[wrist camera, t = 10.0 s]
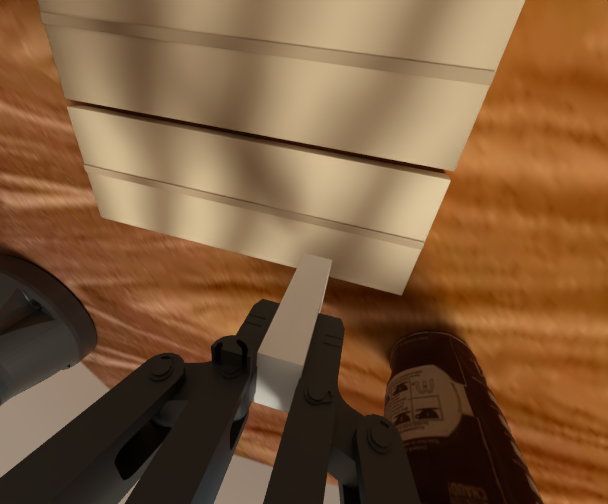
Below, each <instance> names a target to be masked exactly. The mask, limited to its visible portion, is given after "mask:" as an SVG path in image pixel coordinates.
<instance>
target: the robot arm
mask: <svg viewBox="0 0 608 504" xmlns="http://www.w3.org/2000/svg"><path fill="white" fill-rule="evenodd" d="M331 263H332V260H331V259H327V258H323V257H318V256H314V255H310V254H306V253H304V255H303V257H302V259H301V261H300V263H299V265H298V267H297V269H296V272H295V274H294V276H293V278H292V280H291V282H290V284H289V286H288V288H287V291H286V293H285V295H284V297H283V299H282V301H281V303H276V302H272V301H269V300H265V299H262V300H261V301H259V302H258V303H256V304H255V305H254V306H253V307H252V309H251V311H250V312H249V315H248V316H247V317H246V319H245V321H244V323H243V324H242V326H241V327H240V329H239V331H238V332H237V334H236V336H235V335H230V336H225V337H222V338H220V339H218V340H217V341H216V342H215V343H214V344H213V345H212V346H211V353H212V361H210V362H204V363H184V360H183V359H182V358H181V357H180V356H179V355H177V354H174V353H163V354H159V355H156V356H154V357H152V358H151V359H149V360H147V361H146V362H145V363H143V364H142V365H141V366H140V367H138V368H137V369H136V370H135V371H133V372H132V373H131V374H130V375H128V376H127V377H126V378H125V379H123V380H122V381H121V382H120V383H118V384H117V385H116V386H115V387H113V388H112V389H111V390H110V391H108V392H107V393H106V394H105V395H103V396H102V397H101V398H100V399H98V400H97V401H96V402H95V403H93V404H92V405H91V406H90V407H88V408H87V409H86V410H85V411H83V412H82V413H81V414H80V415H79V416H77V417H76V418H75V419H73V420H72V421H71V422H70V423H68V424H67V425H66V426H65V427H63V428H62V429H61V430H60V431H58V432H57V433H56V434H55V435H54V436H52V437H51V438H50V439H48V440H47V441H46V442H45V443H43V444H42V445H41V446H40V447H39V448H37V449H36V450H35V451H33V452H32V453H31V454H30V455H28V456H27V457H26V458H25V459H23V460H22V461H21V462H20V463H18V464H17V465H16V466H15V467H13V468H12V469H11V470H10V471H8V472H7V473H6V474H5V475H3V476H2V477H1V478H0V504H118V503H119V502H120V501H121V499H122V498H123V497H124V496H125V495H126V493H128V491H129V490H130V489H131V488H132V487H133V486H134V484H135V483H136V482H137V481H138V480H139V479H140V480H139V481H138V483H137V485H136V486H135V488H134V489H133V491H132V493H131V494H130V496H129V497H128V499H127V501H126V502H125V504H214V501H215V499H216V496H217V494H218V491H219V489H220V486H221V483H222V481H223V479H224V476H225V474H226V471H227V469H228V466H229V464H230V461H231V459H232V456H233V454H234V451H235V449H236V446H237V444H238V441H239V439H240V436H241V434H242V431H243V429H244V426H245V424H246V421H247V419H248V414H249V407H250V405H251V402H252V400H253V397H254V402H256V403H259V404H262V405H265V406H269V407H272V408H275V409H278V410H281V411H284V412H287V413H289V414H288V417H287V421H286V424H285V428H284V431H283V435H282V438H281V442H280V445H279V449H278V453H277V456H276V460H275V463H274V467H273V471H272V474H271V478H270V481H269V484H268V488H267V492H266V496H265V499H264V502H263V504H323V500H324V493H325V486H326V478H327V472H328V473H330V474H331V475H332V476H333V477H335V478H336V479H337V480H338V484H339V493H340V504H421V502H420V499H419V495H418V492H417V488H416V485H415V482H414V478H413V475H412V471H411V468H410V464H409V461H408V457H407V454H406V450H405V447H404V443H403V440H402V438H401V436H400V433H399V431H398V429H397V428H396V427H395V426H394V425H393V424H392V422H390V421H389V420H387V419H386V418H384V417H383V416H379V415H375V414H372V415H366V416H365V417H364V416H363V415H361V414H360V413H358V412H357V411H355V410H354V409H353V408H351V407H350V406H349V405H348V404H346V402H345V401H344V400H343V399H342V397H341V395H340V393H339V390H338V374H339V367H340V359H341V352H342V345H343V337H344V330H345V328H344V326H343V323H342V320H341V319H339V318H336V317H332V316H328V315H324V314H321V313H320V311H321V307H322V303H323V299H324V295H325V290H326V286H327V281H328V277H329V272H330V268H331ZM96 344H97V335H96V331H95V328H94V325H93V323H92V321H91V319H90V317H89V315H88V314H87V312H86V311H85V309H84V308H83V307H82V305H81V304H80V303H79V302H78V300H77V299H76V298H75V297H74V296H73V295H72V294H71V293H70V292H69V291H68V290H67V289H66V288H65V287H64V286H63V285H62V284H60V283H59V282H58V281H57V280H56V279H54V278H53V277H52V276H50V275H49V274H47V273H46V272H45V271H43V270H41V269H40V268H38V267H36V266H35V265H33V264H31V263H29V262H26V261H24V260H22V259H19V258H16V257H12V256H5V255H0V406H1V405H2V404H3V403H4V402H6V401H7V400H9V399H10V398H12V397H13V396H15V395H17V394H19V393H21V392H23V391H25V390H27V389H29V388H30V387H32V386H34V385H36V384H38V383H40V382H42V381H44V380H45V379H47V378H49V377H51V376H52V375H54V374H55V373H57V372H59V371H60V370H65V369H69V368H70V367H72V366H74V365H76V364H77V363H79V362H80V361H81V360H82V359H84V358H85V357H86V356H87V355H88V354H89V353H91V352H92V351H93V350H94V349H95V347H96Z"/></svg>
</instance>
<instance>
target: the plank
mask: <svg viewBox="0 0 608 504" xmlns="http://www.w3.org/2000/svg"><path fill="white" fill-rule="evenodd" d="M67 109H68V112H69V115H70V119H71V122H72V125H73V128H74V131H75V135H76V138H77V141H78V144H79V147H80V151H81V154H82V157H83V160H84V163H85V164H84V168H85V171H86V172H87V173H88V176H89V179H90V183H91V186H92V189H93V192H94V196H95V199H96V202H97V205H98V208H99V212H100V215H101V217H102V218H106V219H110V220H114V221H117V222H121V223H125V224H129V225H133V226H137V227H141V228H144V229H148V230H152V231H156V232H160V233H164V234H167V235H171V236H175V237H179V238H183V239H187V240H190V241H194V242H198V243H202V244H206V245H210V246H213V247H217V248H221V249H225V250H229V251H233V252H236V253H240V254H244V255H248V256H252V257H256V258H259V259H263V260H267V261H271V262H275V263H279V264H282V265H286V266H290V267H294V268H297V267H298V265H299V263H300V261H301V259H302V257H303V255H304V253H306V254H310V255H314V256H318V257H323V258H327V259H331V260H332V263H331V268H330V272H329V277H332V278H336V279H340V280H344V281H348V282H352V283H355V284H359V285H363V286H367V287H371V288H375V289H378V290H382V291H386V292H390V293H394V294H398V295H401V296H402V294H403V291H404V289H405V287H406V284H407V282H408V279H409V277H410V275H411V272H412V270H413V268H414V265H415V263H416V261H417V258H418V256H419V254H420V251H421V250H422V248H423V246H424V243H425V240H426V237H427V235H428V233H429V230H430V228H431V226H432V223H433V221H434V219H435V216H436V214H437V212H438V209H439V207H440V204H441V202H442V200H443V197H444V195H445V193H446V190H447V188H448V186H449V183H450V181H451V180H450V178H449V177H448V175H447V174H444V173H439V172H433V171H428V170H423V169H418V168H412V167H407V166H402V165H396V164H391V163H386V162H381V161H375V160H370V159H365V158H359V157H354V156H349V155H344V154H338V153H333V152H328V151H322V150H317V149H312V148H306V147H301V146H296V145H291V144H285V143H280V142H275V141H269V140H264V139H259V138H254V137H248V136H243V135H238V134H232V133H227V132H222V131H217V130H211V129H206V128H201V127H195V126H190V125H185V124H180V123H174V122H169V121H164V120H158V119H153V118H148V117H143V116H137V115H132V114H127V113H121V112H116V111H111V110H106V109H100V108H95V107H90V106H84V105H82V106H67Z"/></svg>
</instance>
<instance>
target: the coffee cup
mask: <svg viewBox="0 0 608 504" xmlns="http://www.w3.org/2000/svg"><path fill="white" fill-rule="evenodd" d="M390 368H391V371H392V374H391V377H390V380H389V382H388V383H387V388H386V395H385V407H384V418H386V419H387V420H389V421H390V422H392V424H393V425H394V426H395V427H396V428H397V429H398V431H399V433H400V436H401V438H402V440H403V443H404V447H405V450H406V454H407V457H408V461H409V464H410V468H411V471H412V475H413V478H414V482H415V485H416V488H417V492H418V495H419V499H420V502H421V504H543V501H542V499H541V496H540V494H539V492H538V490H537V488H536V485H535V483H534V481H533V478H532V477H531V475H530V473H529V471H528V468H527V466H526V463H525V461H524V459H523V457H522V453H521V451H520V449H519V447H518V445H517V443H516V442H515V440H514V439H513V437H512V434H511V431H510V428H509V426H508V424H507V422H506V419H505V417H504V416H503V414H502V412H501V410H500V408H499V406H498V403H497V401H496V399H495V397H494V395H493V393H492V391H491V390H490V389H489V388H488V386H487V383H486V378H485V376H484V373H483V371H482V369H481V367H480V366H479V365H478V362H477V359H476V357H475V356H474V354H473V353H472V351H471V350H470V349H469V347H468V346H467V345H466V344H465V343H464V342H462V341H461V340H460V339H458V338H456V337H454V336H452V335H450V334H448V333H442V332H429V331H427V332H418V333H414V334H411V335H409V336H407V337H405V338H403V339H401V340H399V341H398V342H397V343H396V344H395V345H394V347H393V348H392V351H391V354H390Z"/></svg>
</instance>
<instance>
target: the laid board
mask: <svg viewBox="0 0 608 504" xmlns="http://www.w3.org/2000/svg"><path fill="white" fill-rule="evenodd" d="M524 2H525V0H38V3H39V6H40V10H41V12H39V13H40V16H41V20H42V23H43V24H45V28H46V31H47V35H48V38H49V42H50V46H51V49H52V53H53V56H54V60H55V64H56V67H57V71H58V74H59V78H60V81H61V85H62V89H63V92H64V96H65V99H70V100H76V101H81V102H86V103H92V104H97V105H102V106H108V107H113V108H118V109H124V110H129V111H135V112H140V113H145V114H151V115H156V116H161V117H167V118H172V119H177V120H183V121H188V122H193V123H199V124H204V125H209V126H215V127H220V128H225V129H231V130H236V131H242V132H247V133H252V134H258V135H263V136H268V137H274V138H279V139H284V140H290V141H295V142H300V143H306V144H311V145H316V146H322V147H327V148H332V149H338V150H343V151H349V152H354V153H359V154H365V155H370V156H375V157H381V158H386V159H391V160H397V161H402V162H407V163H413V164H418V165H423V166H429V167H434V168H439V169H445V170H450V171H455V168H456V166H457V163H458V161H459V159H460V156H461V154H462V151H463V149H464V147H465V144H466V142H467V139H468V137H469V135H470V132H471V130H472V127H473V125H474V122H475V120H476V118H477V115H478V113H479V110H480V108H481V106H482V103H483V101H484V98H485V96H486V94H487V91H488V89H489V86H491V83H492V81H493V78H494V76H495V74H496V69H497V67H498V65H499V62H500V60H501V57H502V55H503V53H504V50H505V48H506V45H507V43H508V40H509V38H510V36H511V33H512V31H513V28H514V26H515V24H516V21H517V19H518V16H519V14H520V12H521V9H522V7H523V4H524Z"/></svg>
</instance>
